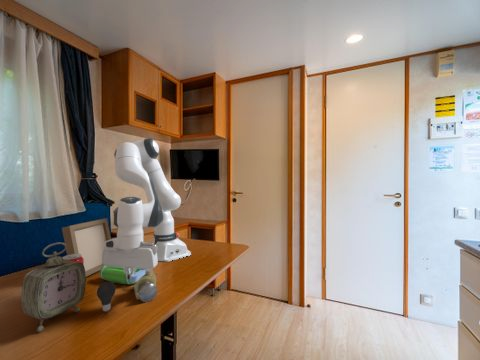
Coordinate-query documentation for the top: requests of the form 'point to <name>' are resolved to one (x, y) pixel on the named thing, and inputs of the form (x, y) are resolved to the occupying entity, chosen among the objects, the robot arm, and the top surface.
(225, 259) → the top surface
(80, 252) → the photo frame
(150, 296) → the valve
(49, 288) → the tabletop clock
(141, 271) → the lever
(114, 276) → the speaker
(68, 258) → the soda can
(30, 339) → the top surface
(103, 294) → the light bulb
